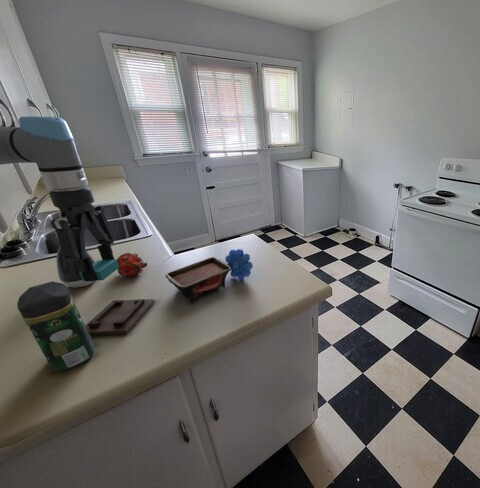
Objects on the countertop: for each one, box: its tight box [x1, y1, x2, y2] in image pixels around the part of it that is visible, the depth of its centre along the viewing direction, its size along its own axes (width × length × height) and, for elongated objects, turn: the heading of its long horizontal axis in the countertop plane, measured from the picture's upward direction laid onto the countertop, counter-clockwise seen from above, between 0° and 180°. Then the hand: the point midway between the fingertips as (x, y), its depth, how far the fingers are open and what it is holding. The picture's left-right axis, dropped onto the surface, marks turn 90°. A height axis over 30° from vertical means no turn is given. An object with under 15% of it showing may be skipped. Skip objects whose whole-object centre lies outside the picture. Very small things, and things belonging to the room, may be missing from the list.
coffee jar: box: [17, 281, 95, 372], centre depth 60 cm, size 10×8×19 cm
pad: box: [79, 259, 119, 281], centre depth 73 cm, size 7×5×3 cm
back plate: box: [84, 298, 155, 336], centre depth 76 cm, size 14×12×2 cm
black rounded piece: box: [56, 245, 96, 288], centre depth 90 cm, size 10×10×15 cm
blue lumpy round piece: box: [224, 248, 254, 281], centre depth 94 cm, size 12×7×12 cm, turn 65°
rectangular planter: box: [164, 256, 231, 304], centre depth 89 cm, size 14×18×10 cm
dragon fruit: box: [116, 252, 148, 278], centre depth 98 cm, size 8×8×12 cm
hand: (101, 273), depth 73 cm, fingers closed on pad, 7 cm apart
